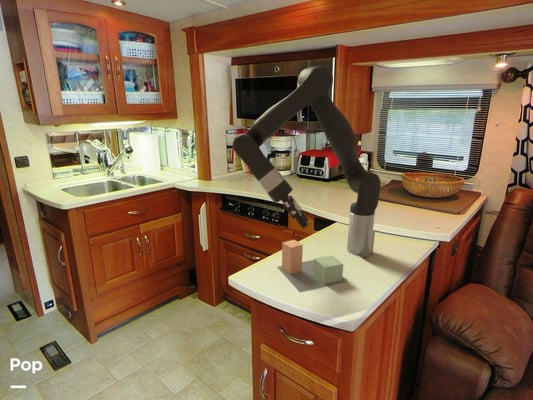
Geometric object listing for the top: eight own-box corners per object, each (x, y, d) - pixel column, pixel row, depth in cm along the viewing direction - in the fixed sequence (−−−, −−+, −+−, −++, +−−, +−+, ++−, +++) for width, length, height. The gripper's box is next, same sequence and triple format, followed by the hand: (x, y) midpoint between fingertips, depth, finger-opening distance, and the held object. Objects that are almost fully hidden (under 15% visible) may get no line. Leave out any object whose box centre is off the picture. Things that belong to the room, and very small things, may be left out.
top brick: (293, 265, 124) (294, 239, 121) (301, 270, 120) (302, 244, 117) (281, 268, 121) (282, 242, 118) (290, 274, 117) (290, 247, 114)
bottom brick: (330, 270, 120) (331, 255, 118) (342, 280, 114) (343, 263, 112) (313, 274, 118) (314, 258, 116) (323, 284, 111) (324, 267, 110)
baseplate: (320, 261, 129) (320, 258, 129) (348, 284, 113) (348, 281, 113) (276, 269, 123) (276, 266, 123) (299, 294, 107) (299, 292, 107)
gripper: (282, 179, 104) (315, 221, 105) (285, 177, 118) (314, 213, 119) (263, 194, 106) (296, 235, 106) (268, 190, 120) (297, 226, 120)
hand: (306, 224), depth 112 cm, fingers open, 8 cm apart
